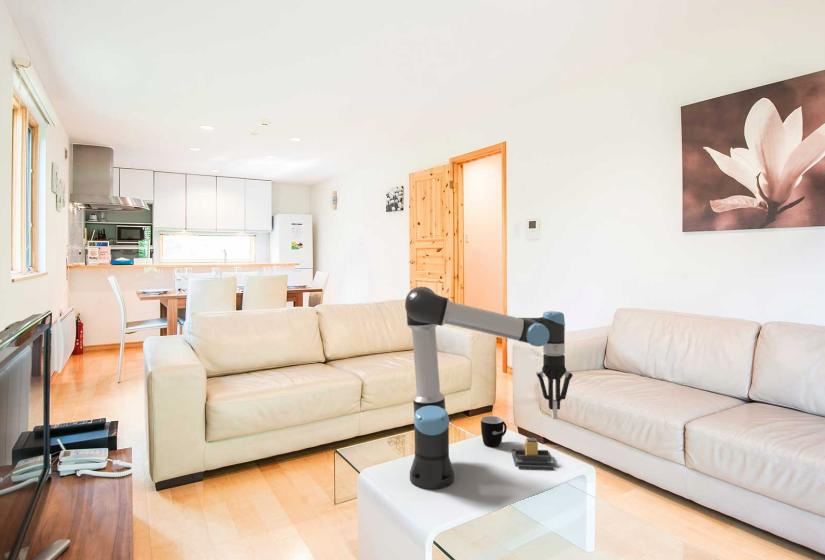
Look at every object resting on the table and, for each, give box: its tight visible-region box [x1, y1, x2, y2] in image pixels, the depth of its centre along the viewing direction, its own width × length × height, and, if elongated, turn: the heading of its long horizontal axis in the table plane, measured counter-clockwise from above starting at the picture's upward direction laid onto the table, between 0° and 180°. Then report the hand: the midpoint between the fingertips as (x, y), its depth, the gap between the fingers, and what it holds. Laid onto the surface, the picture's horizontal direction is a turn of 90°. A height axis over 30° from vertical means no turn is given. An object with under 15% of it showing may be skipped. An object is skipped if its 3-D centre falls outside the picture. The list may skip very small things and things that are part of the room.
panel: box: [511, 448, 556, 468], centre depth 174 cm, size 14×10×3 cm
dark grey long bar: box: [518, 465, 555, 471], centre depth 168 cm, size 12×1×1 cm, turn 85°
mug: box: [480, 415, 507, 448], centre depth 191 cm, size 12×9×10 cm
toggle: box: [524, 437, 539, 455], centre depth 174 cm, size 4×3×7 cm
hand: (554, 417), depth 173 cm, fingers closed
